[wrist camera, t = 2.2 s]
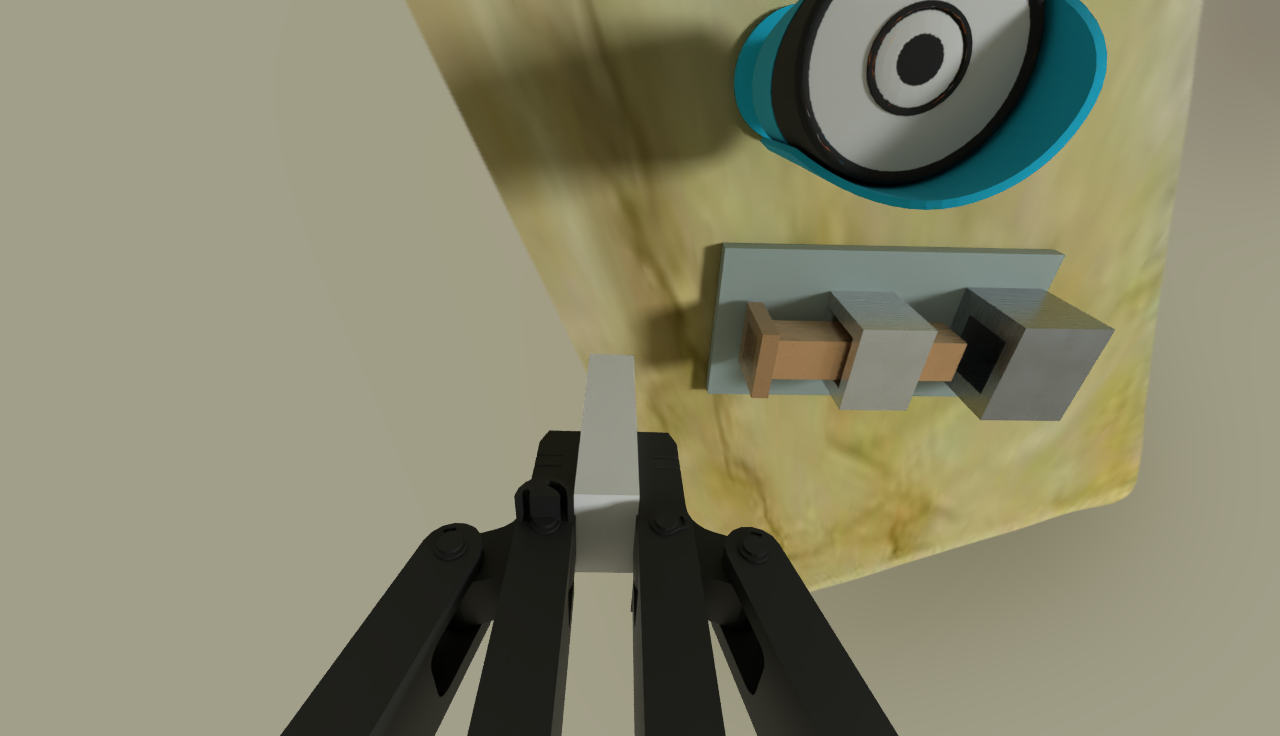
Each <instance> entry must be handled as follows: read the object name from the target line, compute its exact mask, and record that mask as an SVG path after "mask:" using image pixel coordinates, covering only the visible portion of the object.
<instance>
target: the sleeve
mask: <svg viewBox="0 0 1280 736" xmlns="http://www.w3.org/2000/svg"><path fill="white" fill-rule="evenodd" d="M823 321H840V322H841V324H842V325H843V326H844V327H845V329H846V330H847V331H848V333H849V334H850V335H851V336H852V338H853V341H852V344H851V348H850V351H849V354H848V358H847V361H846V365H845V368H844V371H843V375H842V378H841V380H822V381H823V383H824V385H825V386H826V388H827V390H828V391H829V393H830V395H831V396H832V398H833V400H834V402H835V403H836V405H837V407H838V408H839V410H905V411H907V408H908V406H909V403H910V401H911V398H912V396H913V393H914V391H915V388H916V385H917V383H918V380H919V378H920V375H921V373H922V370H923V368H924V365H925V363H926V360H927V358H928V355H929V352H930V350H931V347H932V345H933V342H934V340H935V337H936V335H937V332H938V331H937V330H936V329H935V328H934V327H933V326H932V325H931V324H930V323H928V322H927V321H926V320H925V319H924V318H923V317H922V316H921V315H919V314H918V313H917V312H916V311H915V310H914V309H913V308H912V307H911V306H909V305H908V304H907V303H906V302H905V301H904V300H903V299H902V298H900V297H899V296H898V295H897V294H896V293H895V292H868V291H830V294H829V298H828V302H827V306H826V310H825V314H824V318H823Z"/></svg>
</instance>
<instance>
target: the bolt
mask: <svg viewBox="0 0 1280 736" xmlns="http://www.w3.org/2000/svg"><path fill="white" fill-rule="evenodd" d="M930 324H931V325H932V326H933V327H934V328H935V329H936V330H937V331H938V332H937V335H936V337H935V340H934V342H933V345H932V347H931V350H930V352H929V355H928V358H927V360H926V363H925V365H924V368H923V370H922V373H921V375H920V378H919V380H918V381H952V378H953V376H954V374H955V371H956V369H957V367H958V365H959V362H960V360H961V358H962V355H963V353H964V351H965V349H966V346H967V343H966V342H965V341H964V340H963V339H962V338H960V337H959V336H958V335H957V334H956V333H955V332H953V331H952V330H951V329H950V328H949V327H947V326H946V325H945V324H944V323H930ZM852 341H853V338H852V336H851V335H850V334H849V333H848V331H847V330H846V329H845V327H844V326H843V325H842V324H841V322H840V321H787V320H772V318H771V316H770V314H769V313H768V311H767V309H766V307H765V305H764V303H763V302H747V307H746V313H745V320H744V326H743V333H742V339H741V345H740V352H739V358H738V362H739V364H740V367H741V370H742V373H743V376H744V378H745V381H746V384H747V387H748V389H749V392H750V395H751V398H768V395H769V390H770V385H771V380H772V379H809V380H841V378H842V375H843V371H844V368H845V365H846V361H847V358H848V354H849V351H850V348H851V344H852Z"/></svg>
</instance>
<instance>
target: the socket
mask: <svg viewBox="0 0 1280 736" xmlns="http://www.w3.org/2000/svg"><path fill="white" fill-rule="evenodd" d="M950 329H951V330H952V331H953V332H955V333H956V334H957V335H958V336H959V337H960V338H962V339H963V340H964V341H965V342H966V343H967V346H966V349H965V351H964V353H963V355H962V358H961V360H960V362H959V365H958V367H957V369H956V371H955V374H954V376H953V378H952V381H943V382H944V383H945V384H946V385H947V386H948V387H949V388H950V389H951V390H952V391H953V392H954V393H955V394H956V395H957V396H958V397H959V398H960V399H961V400H962V401H963V402H964V403H965V404H966V406H967V407H968V408H969V409H970V410H971V411H972V412H973V413H974V414H975V415H976V416H977V417H978V418H979V419H980V420H1031V421H1060V420H1061V418H1062V416H1063V415H1064V413H1065V411H1066V410H1067V408H1068V406H1069V405H1070V403H1071V401H1072V400H1073V398H1074V397H1075V395H1076V393H1077V392H1078V390H1079V388H1080V387H1081V385H1082V383H1083V382H1084V380H1085V379H1086V377H1087V375H1088V374H1089V372H1090V370H1091V369H1092V367H1093V365H1094V364H1095V362H1096V360H1097V359H1098V357H1099V356H1100V354H1101V352H1102V351H1103V349H1104V347H1105V346H1106V344H1107V342H1108V341H1109V339H1110V338H1111V336H1112V334H1113V333H1114V331H1115V329H1113V328H1111V327H1109V326H1108V325H1106V324H1104V323H1102V322H1101V321H1099V320H1097V319H1095V318H1093V317H1092V316H1090V315H1088V314H1086V313H1085V312H1083V311H1081V310H1079V309H1078V308H1076V307H1074V306H1072V305H1070V304H1069V303H1067V302H1065V301H1063V300H1062V299H1060V298H1058V297H1056V296H1054V295H1053V294H1051V293H1049V292H1047V291H1046V290H1044V289H1037V288H983V287H966V289H965V292H964V294H963V297H962V299H961V302H960V304H959V307H958V309H957V311H956V314H955V316H954V319H953V321H952V324H951V326H950Z"/></svg>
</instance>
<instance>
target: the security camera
mask: <svg viewBox="0 0 1280 736" xmlns="http://www.w3.org/2000/svg"><path fill="white" fill-rule="evenodd" d="M1106 67H1107V50H1106V45H1105V40H1104V36H1103V33H1102V31H1101V29H1100V27H1099V24H1098V22H1097V20H1096V19H1095V18H1094V16H1093V15H1092V14H1091V12H1090V11H1089V10H1088V8H1087V7H1086V6H1085V5H1084V4H1083V3H1082V2H1081V1H1080V0H799V1H798V2H797V3H796V4H792V5H789V6H786V7H783V8H781V9H778V10H777V11H775V12H773V13H771V14H770V15H769V16H767V17H766V18H765V19H763V20H762V21H761V22H760V23H759V24H758V25H757V26H756V27H755V29H754V30H753V31H752V32H751V34H750V35H749V36H748V38H747V40H746V41H745V43H744V45H743V47H742V49H741V51H740V54H739V57H738V60H737V63H736V68H735V74H734V93H735V99H736V103H737V106H738V109H739V111H740V113H741V115H742V117H743V119H744V120H745V122H746V123H747V124H748V125H749V126H750V127H751V128H752V129H753V130H754V131H755V132H757V133H758V134H759V135H761V136H763V138H762V139H761V140H760V141H761V142H762V143H763V144H764V146H765V147H766V148H767V149H768V150H770V151H772V152H774V153H776V154H778V155H780V156H782V157H784V158H786V159H788V160H790V161H791V162H793V163H795V164H797V165H799V166H801V167H803V168H805V169H807V170H808V171H810V172H812V173H814V174H816V175H817V176H819V177H821V178H823V179H825V180H827V181H829V182H831V183H833V184H834V185H836V186H838V187H840V188H842V189H844V190H847V191H849V192H851V193H853V194H855V195H858V196H861V197H863V198H866V199H869V200H872V201H875V202H878V203H882V204H886V205H890V206H895V207H901V208H907V209H922V210H930V209H945V208H952V207H958V206H962V205H966V204H970V203H974V202H977V201H980V200H983V199H986V198H988V197H991V196H993V195H995V194H998V193H1000V192H1002V191H1004V190H1006V189H1008V188H1010V187H1012V186H1014V185H1015V184H1017V183H1019V182H1021V181H1022V180H1024V179H1025V178H1027V177H1028V176H1030V175H1031V174H1033V173H1034V172H1036V171H1037V170H1038V169H1039V168H1041V167H1042V166H1043V165H1044V164H1046V163H1047V162H1048V161H1049V160H1050V159H1051V158H1052V157H1054V156H1055V155H1056V154H1057V153H1058V152H1059V151H1060V150H1061V149H1062V148H1063V147H1064V146H1065V144H1066V143H1067V142H1068V141H1069V140H1070V139H1071V138H1072V136H1073V135H1074V134H1075V133H1076V131H1077V130H1078V129H1079V127H1080V126H1081V125H1082V123H1083V122H1084V121H1085V119H1086V118H1087V116H1088V114H1089V113H1090V111H1091V109H1092V108H1093V106H1094V104H1095V102H1096V100H1097V98H1098V96H1099V93H1100V91H1101V89H1102V86H1103V82H1104V78H1105V74H1106Z"/></svg>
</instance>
